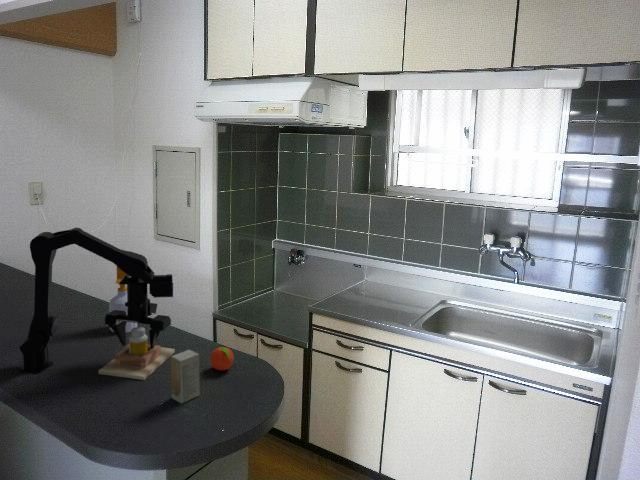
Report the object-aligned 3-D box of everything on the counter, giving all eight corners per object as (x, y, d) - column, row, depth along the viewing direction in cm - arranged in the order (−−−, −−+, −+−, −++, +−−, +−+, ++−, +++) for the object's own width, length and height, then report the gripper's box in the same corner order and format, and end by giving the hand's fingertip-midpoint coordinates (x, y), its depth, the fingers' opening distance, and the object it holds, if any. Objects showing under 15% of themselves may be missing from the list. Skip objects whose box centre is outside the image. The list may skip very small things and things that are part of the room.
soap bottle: (108, 334, 178) (106, 264, 173) (111, 324, 187) (109, 258, 182) (136, 333, 181) (135, 264, 176) (137, 323, 189) (136, 257, 184)
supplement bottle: (126, 358, 159) (125, 328, 157) (144, 354, 162) (143, 324, 161) (133, 364, 155) (132, 333, 153) (150, 360, 158) (150, 330, 156)
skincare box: (190, 390, 144) (190, 348, 141) (200, 395, 141) (200, 353, 139) (170, 398, 139) (170, 355, 137) (180, 404, 136) (180, 360, 134)
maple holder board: (143, 379, 148) (143, 366, 147) (98, 373, 150) (98, 360, 149) (174, 351, 168) (174, 340, 167) (133, 346, 170) (133, 335, 169)
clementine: (240, 371, 156) (240, 349, 155) (220, 378, 152) (220, 355, 150) (225, 362, 162) (225, 340, 161) (205, 368, 157) (205, 346, 156)
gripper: (178, 292, 161) (178, 340, 164) (122, 286, 164) (123, 333, 167) (162, 304, 150) (162, 354, 154) (102, 297, 153) (104, 347, 156)
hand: (138, 346), depth 158 cm, fingers open, 9 cm apart
